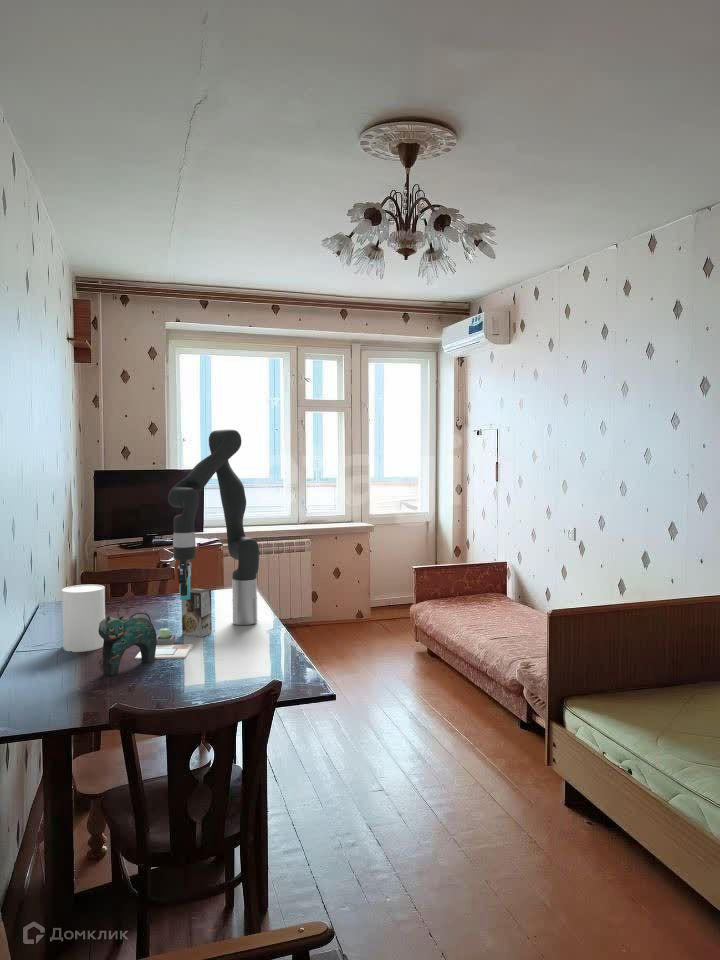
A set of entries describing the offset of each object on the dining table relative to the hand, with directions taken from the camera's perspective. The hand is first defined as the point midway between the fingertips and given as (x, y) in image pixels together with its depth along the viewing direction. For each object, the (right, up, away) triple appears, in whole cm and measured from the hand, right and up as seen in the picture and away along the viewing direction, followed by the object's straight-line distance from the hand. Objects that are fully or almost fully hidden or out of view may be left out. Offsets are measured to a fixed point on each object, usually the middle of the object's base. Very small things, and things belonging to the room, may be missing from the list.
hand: (185, 593), depth 246 cm
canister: (-34, -18, -3) cm, 38 cm away
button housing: (-7, -17, -1) cm, 18 cm away
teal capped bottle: (0, -2, 0) cm, 2 cm away
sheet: (-4, -18, -11) cm, 21 cm away
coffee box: (+1, -17, +12) cm, 21 cm away
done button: (-7, -15, -1) cm, 17 cm away
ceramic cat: (-11, -19, -27) cm, 34 cm away
